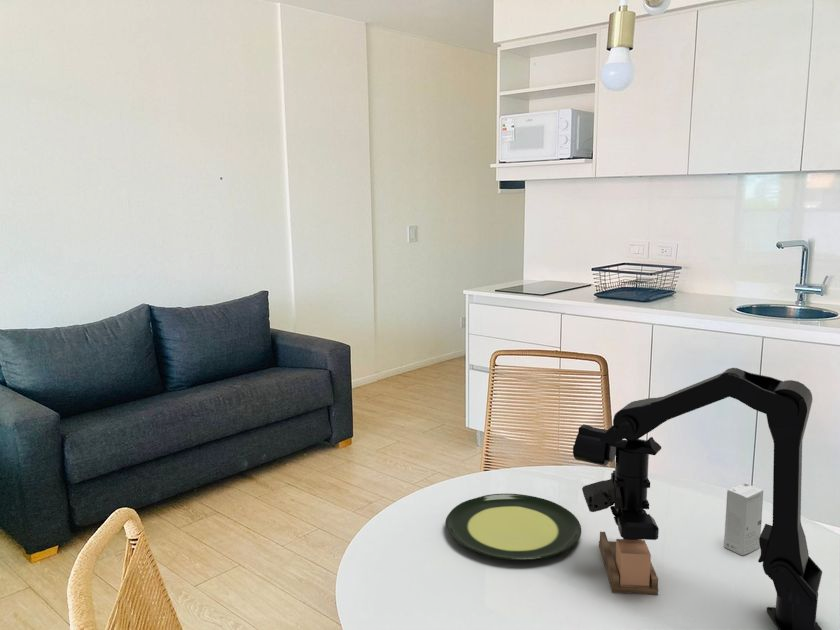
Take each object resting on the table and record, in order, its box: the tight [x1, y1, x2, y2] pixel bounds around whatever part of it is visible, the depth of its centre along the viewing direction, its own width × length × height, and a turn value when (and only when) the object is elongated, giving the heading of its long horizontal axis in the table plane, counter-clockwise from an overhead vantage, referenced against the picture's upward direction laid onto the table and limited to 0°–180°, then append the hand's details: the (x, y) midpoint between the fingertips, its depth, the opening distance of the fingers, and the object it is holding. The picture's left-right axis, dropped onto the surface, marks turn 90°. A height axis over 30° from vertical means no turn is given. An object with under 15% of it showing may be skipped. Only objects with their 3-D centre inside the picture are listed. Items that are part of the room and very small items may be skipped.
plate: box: [444, 493, 582, 561], centre depth 138 cm, size 28×28×2 cm
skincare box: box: [723, 483, 764, 556], centre depth 130 cm, size 6×4×12 cm
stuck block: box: [615, 538, 652, 586], centre depth 118 cm, size 5×5×6 cm
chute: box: [598, 531, 659, 596], centre depth 123 cm, size 16×8×3 cm, turn 173°
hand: (628, 550), depth 123 cm, fingers closed
